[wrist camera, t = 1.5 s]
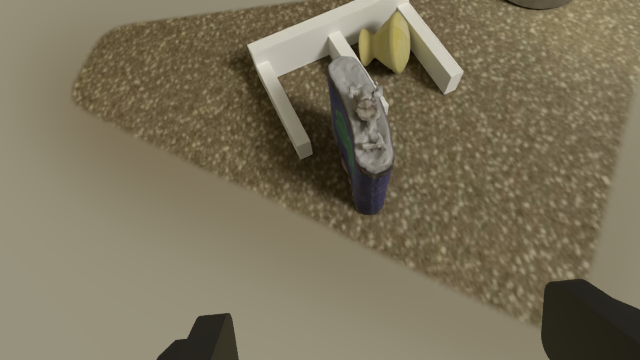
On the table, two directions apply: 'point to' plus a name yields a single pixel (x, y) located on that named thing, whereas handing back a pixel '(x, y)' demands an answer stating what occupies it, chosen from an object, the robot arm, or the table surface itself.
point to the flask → (360, 132)
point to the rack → (342, 53)
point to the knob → (387, 44)
